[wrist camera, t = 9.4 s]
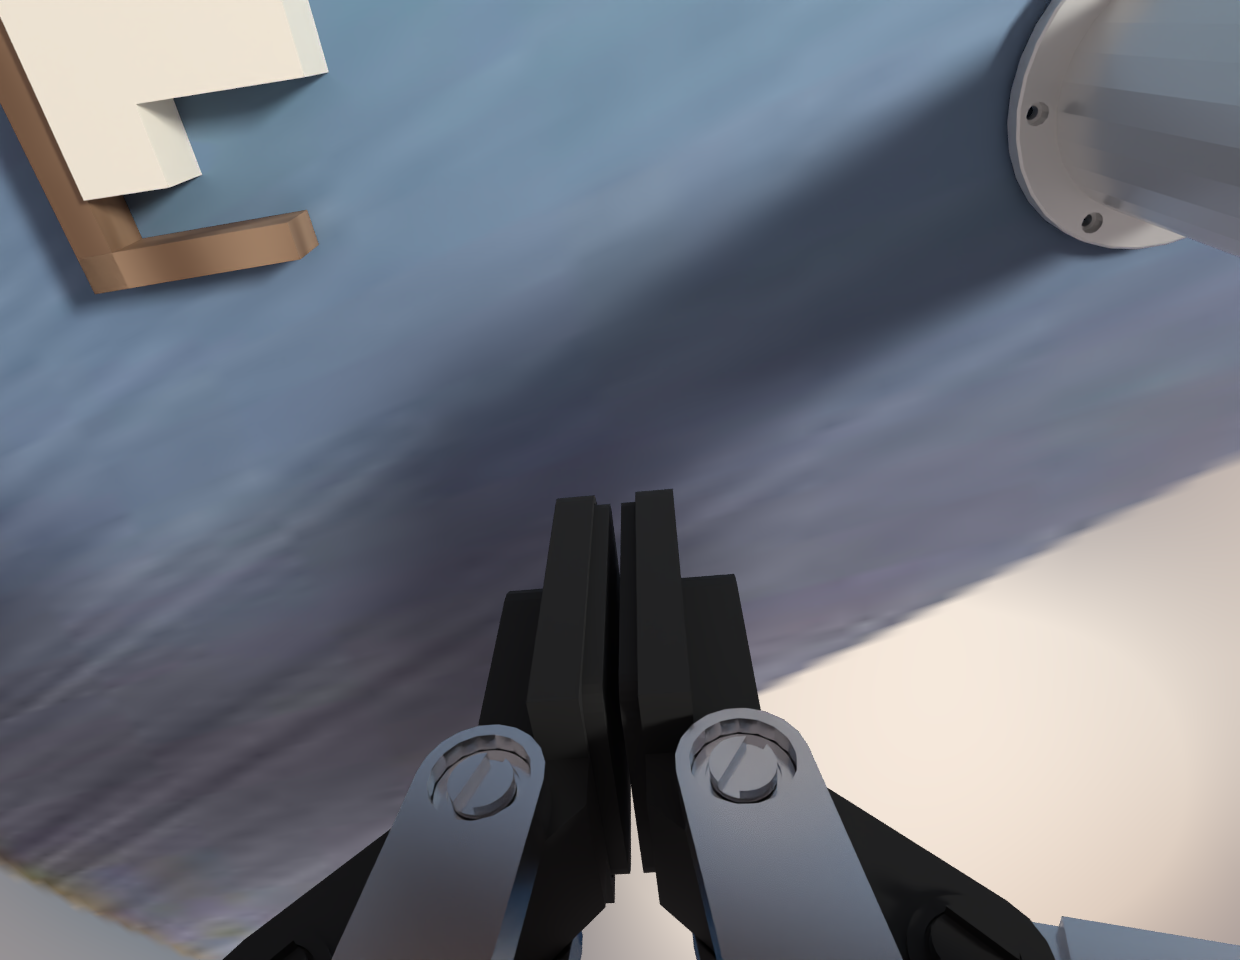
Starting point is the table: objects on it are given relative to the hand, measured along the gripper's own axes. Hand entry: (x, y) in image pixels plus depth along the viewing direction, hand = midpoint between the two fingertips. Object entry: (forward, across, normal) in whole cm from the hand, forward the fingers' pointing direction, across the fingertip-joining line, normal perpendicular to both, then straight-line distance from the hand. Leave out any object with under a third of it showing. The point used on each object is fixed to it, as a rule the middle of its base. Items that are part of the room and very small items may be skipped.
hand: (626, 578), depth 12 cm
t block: (+26, +16, -8) cm, 32 cm away
